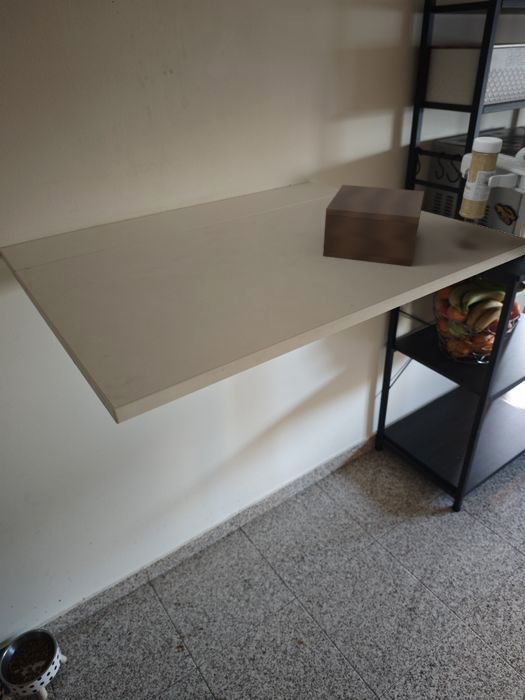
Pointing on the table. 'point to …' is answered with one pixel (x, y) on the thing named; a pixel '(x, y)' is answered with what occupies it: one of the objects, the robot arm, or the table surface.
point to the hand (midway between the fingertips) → (476, 177)
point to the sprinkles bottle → (480, 176)
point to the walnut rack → (373, 224)
